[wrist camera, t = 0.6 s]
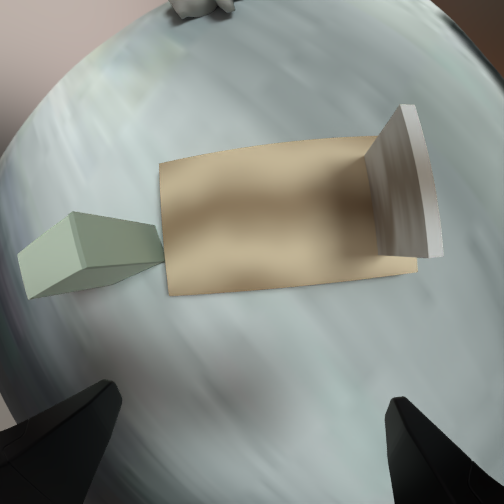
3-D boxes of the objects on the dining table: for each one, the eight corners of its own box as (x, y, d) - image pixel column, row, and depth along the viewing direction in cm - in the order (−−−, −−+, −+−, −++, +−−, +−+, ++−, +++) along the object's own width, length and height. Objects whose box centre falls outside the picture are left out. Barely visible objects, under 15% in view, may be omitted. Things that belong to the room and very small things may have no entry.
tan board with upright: (407, 270, 20) (480, 283, 10) (179, 292, 23) (104, 318, 13) (389, 144, 20) (441, 83, 10) (169, 170, 23) (97, 126, 13)
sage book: (167, 260, 23) (87, 267, 13) (112, 285, 24) (28, 300, 14) (154, 225, 23) (72, 211, 13) (101, 252, 24) (17, 253, 14)
